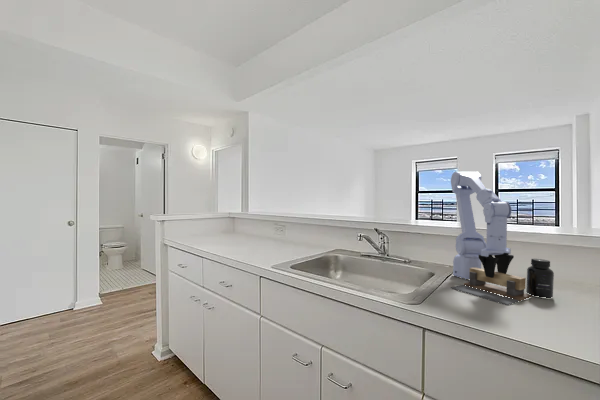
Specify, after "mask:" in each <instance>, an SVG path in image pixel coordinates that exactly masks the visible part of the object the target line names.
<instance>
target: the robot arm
mask: <svg viewBox="0 0 600 400" xmlns="http://www.w3.org/2000/svg"><path fill="white" fill-rule="evenodd" d="M450 185H451V190H452V193H453V194H455V196H456V204H457V210H458V215H459V222H460V227H461V233H460V234H458V235H457V236H456V238H455V251H456V253H457V254H456V255H455V256H454V257H453V261H452V262H453V263H452V264H453V265H452V267H453V269H452V270H453V271H452V275H454V276H457V277H456V278H458V277H461V278H460V279H462V278H465V279H464V280H466V279H470V278H469V271H470V268H474V267H476V268H481V269H484V271H485V275H486V277H490V278H493V277H494V273H495V272H500V273H504V274H508V270H509V267H510V265H511V262H512V261H513V259H514V254H513V255H512V254H511V253H512V252H511V251H512V248H510V247H507V245H508V243H507V241H508V237H507V235H508V218H510V216H511V214H512V205H511V204H510V203H509V201H505V200H501V199H500V197H498V195H497V194H496V193H495V192H494V191H493V189H491V188H486V186H485V185H484V183H483V182H482V175H481V173H480V172H479V171H453V173H452V175H451V177H450ZM472 194H476V196H475V197H476V200H477V201H478V202H479V204H480V205H481V207H482V208H483V209H482V211H483V213H482V214H483V217H484V222H485V223H486V241H485V237H484V236H483V235H482V234H481V233H479V232H478V231H477V227H476V222H475V216H474V213H473V206H472V200H471V195H472ZM482 267H483V268H482ZM496 270H497V271H496ZM454 276H453V277H454Z"/></svg>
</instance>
